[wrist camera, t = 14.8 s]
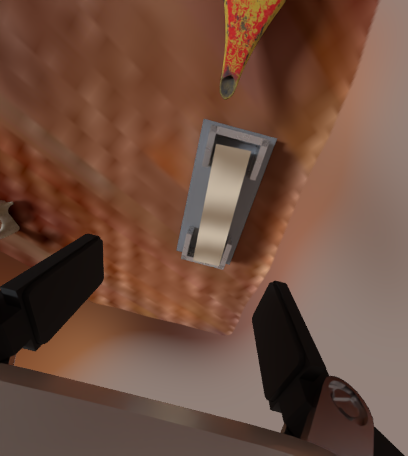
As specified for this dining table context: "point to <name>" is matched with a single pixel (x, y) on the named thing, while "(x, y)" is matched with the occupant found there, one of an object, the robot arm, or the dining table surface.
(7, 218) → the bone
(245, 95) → the dining table surface
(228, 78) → the magic lamp
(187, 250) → the grey long frame
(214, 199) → the birch slat
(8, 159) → the dining table surface
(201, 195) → the slat tray
